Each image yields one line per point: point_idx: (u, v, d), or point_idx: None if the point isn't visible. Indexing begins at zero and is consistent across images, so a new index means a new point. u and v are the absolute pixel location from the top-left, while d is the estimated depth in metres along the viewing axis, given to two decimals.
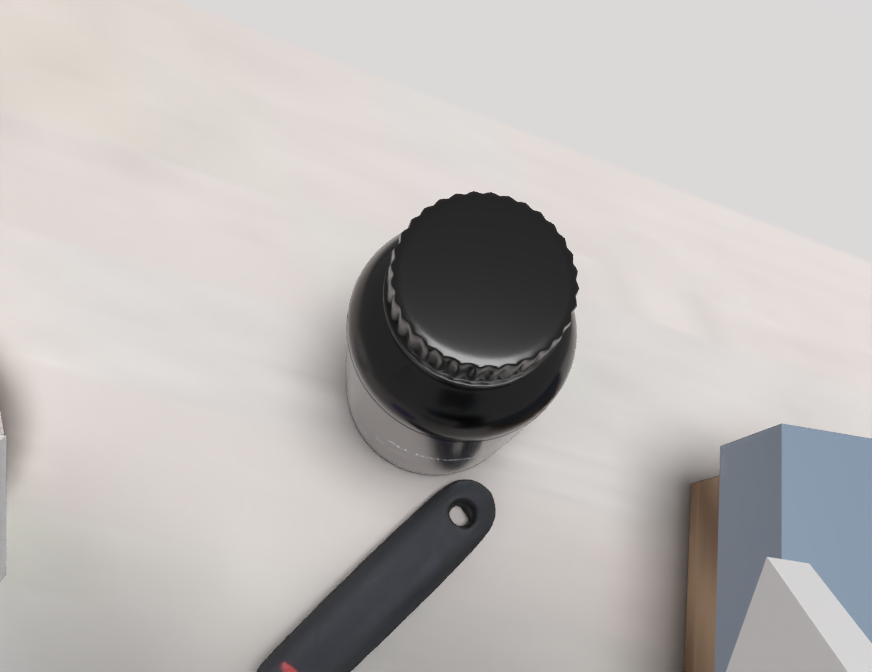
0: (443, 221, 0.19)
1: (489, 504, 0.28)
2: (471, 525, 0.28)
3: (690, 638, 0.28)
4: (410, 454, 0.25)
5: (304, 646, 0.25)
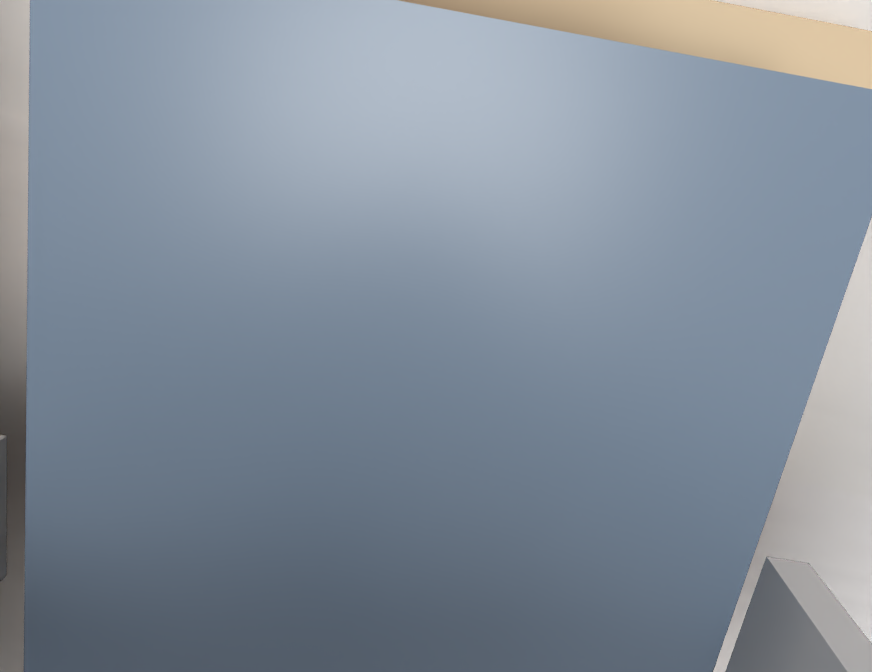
0: None
1: None
2: None
3: None
4: None
5: None
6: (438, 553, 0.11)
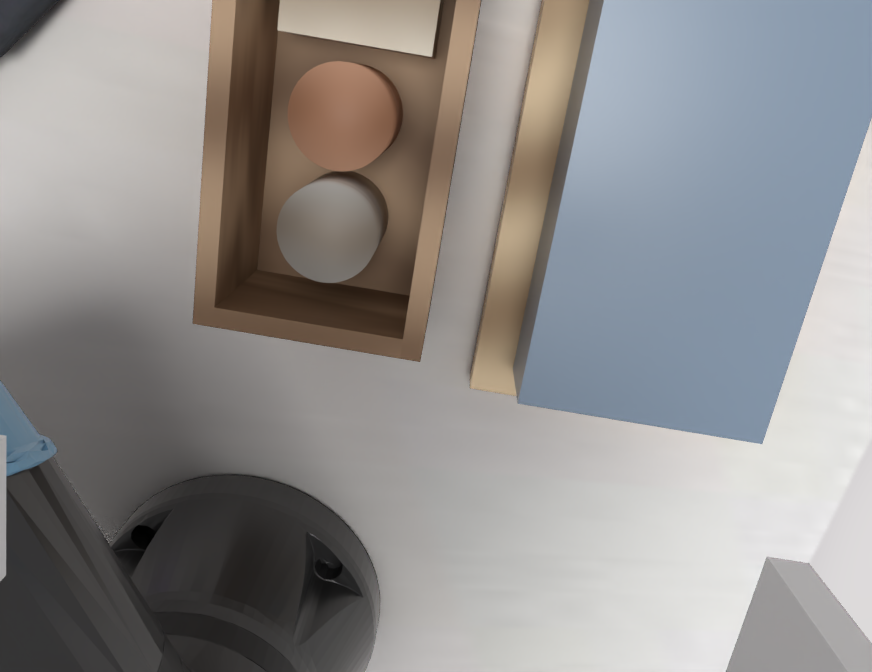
0: None
1: None
2: None
3: None
4: None
5: None
6: (725, 182, 0.28)
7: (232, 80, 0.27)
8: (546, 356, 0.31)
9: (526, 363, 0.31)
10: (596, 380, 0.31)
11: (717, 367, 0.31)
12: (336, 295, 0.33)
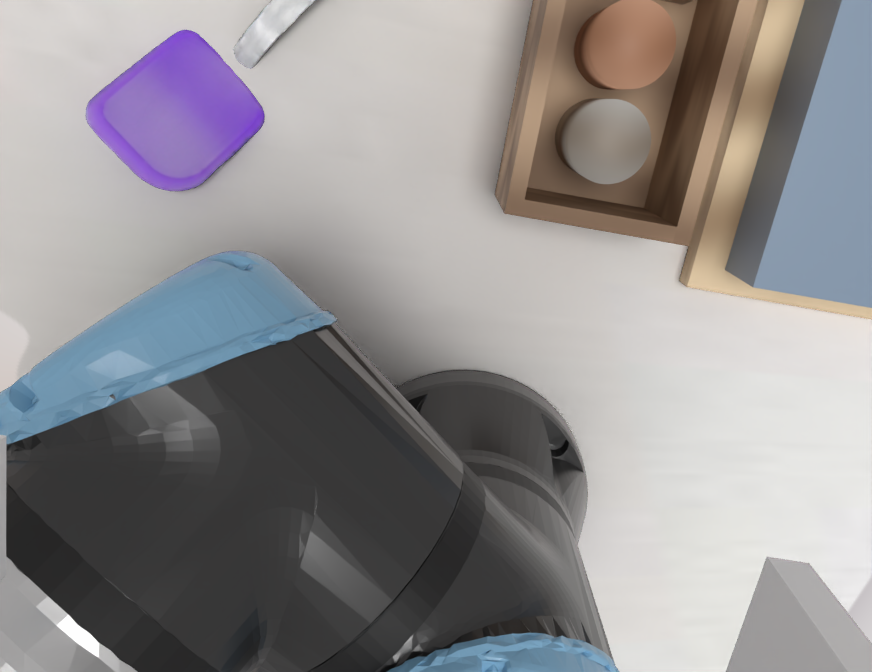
0: None
1: None
2: None
3: None
4: None
5: None
6: None
7: (563, 8, 0.33)
8: (781, 246, 0.38)
9: (763, 252, 0.38)
10: (819, 267, 0.38)
11: None
12: (591, 202, 0.40)
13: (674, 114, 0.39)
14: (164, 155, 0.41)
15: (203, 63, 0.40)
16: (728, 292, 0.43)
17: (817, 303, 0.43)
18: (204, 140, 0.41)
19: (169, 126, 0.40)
